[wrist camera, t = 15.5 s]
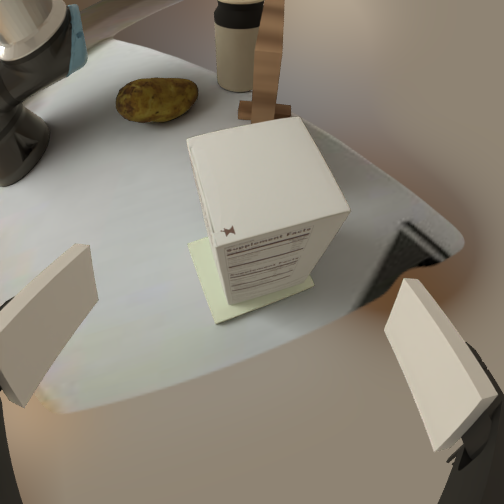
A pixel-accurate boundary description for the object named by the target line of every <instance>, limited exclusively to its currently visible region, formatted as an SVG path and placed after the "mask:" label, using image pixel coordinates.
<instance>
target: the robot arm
mask: <svg viewBox="0 0 504 504" xmlns="http://www.w3.org/2000/svg"><path fill="white" fill-rule="evenodd" d="M87 59H88V55H87V49H86V44H85V39H84V34H83V29H82V23H81V17H80V12H79V8H78V5H76V4H73V5H68V6H66V4H65V3H64V1H63V0H0V186H8V185H11V184H13V183H15V182H16V181H18V180H19V179H21V178H22V177H23V176H25V175H26V174H27V173H28V172H29V171H30V170H31V169H32V168H33V167H34V165H35V164H36V163H37V162H38V160H39V159H40V158H41V156H42V154H43V153H44V151H45V149H46V147H47V145H48V142H49V138H50V131H49V128H48V126H47V125H46V123H45V122H44V120H43V119H42V118H40V117H39V116H37V115H36V114H34V113H33V112H31V111H30V110H28V109H27V108H25V107H24V106H23V104H22V102H23V101H25V100H26V99H28V98H30V97H31V96H33V95H35V94H36V93H38V92H40V91H41V90H43V89H45V88H47V87H49V86H50V85H52V84H54V83H56V82H58V81H60V80H62V79H64V78H66V77H68V76H69V75H70V74H72V73H73V72H75V71H77V70H79V69H81V68H82V67H83V66H84V65H85V64H86V62H87ZM97 302H98V294H97V289H96V284H95V278H94V272H93V266H92V259H91V252H90V245H83V244H74V245H73V246H72V247H71V248H69V249H68V250H67V251H66V252H65V253H63V254H62V255H61V256H60V257H59V258H57V259H56V260H55V261H54V262H53V263H52V264H50V265H49V266H48V267H47V268H46V269H45V270H43V271H42V272H41V273H40V274H39V275H38V276H37V277H36V278H34V279H33V280H32V281H31V282H30V283H29V284H28V285H27V286H26V287H25V288H24V289H23V290H21V291H20V292H19V293H18V294H17V295H16V296H15V297H13V298H11V299H9V300H8V301H6V302H5V303H4V304H3V305H2V306H1V307H0V391H1V390H3V392H4V393H5V395H6V396H7V397H8V399H9V401H11V402H13V403H15V404H17V405H19V406H21V407H23V408H25V406H26V405H27V403H28V401H29V400H30V398H31V396H32V395H33V393H34V392H35V390H36V388H37V387H38V385H39V384H40V382H41V381H42V379H43V377H44V376H45V374H46V373H47V371H48V370H49V368H50V367H51V365H52V364H53V362H54V361H55V359H56V358H57V357H58V355H59V354H60V352H61V351H62V349H63V348H64V346H65V345H66V344H67V342H68V341H69V339H70V338H71V337H72V335H73V334H74V332H75V331H76V330H77V328H78V327H79V325H80V324H81V323H82V321H83V320H84V319H85V317H86V316H87V315H88V313H89V312H90V311H91V309H92V308H93V307H94V305H95V304H96V303H97ZM384 331H385V333H386V336H387V338H388V340H389V342H390V344H391V346H392V348H393V351H394V353H395V355H396V357H397V360H398V362H399V364H400V366H401V369H402V371H403V373H404V376H405V378H406V380H407V383H408V385H409V387H410V390H411V392H412V395H413V397H414V400H415V402H416V405H417V407H418V410H419V412H420V414H421V418H422V420H423V423H424V425H425V428H426V431H427V434H428V436H429V439H430V442H431V445H432V448H433V450H434V452H437V451H441V450H444V449H447V448H451V447H452V446H453V445H454V444H455V443H456V442H457V441H458V440H459V439H460V438H462V440H463V443H464V444H463V445H462V446H461V447H460V448H459V449H458V450H457V451H456V452H454V453H453V454H452V455H451V456H450V457H449V458H448V460H447V463H449V462H450V461H451V460H452V459H454V458H455V457H456V459H455V462H454V463H452V465H453V468H452V470H451V473H450V475H449V478H448V481H447V483H446V486H445V488H444V490H443V493H442V495H441V497H440V500H439V502H438V504H504V394H503V392H502V391H501V389H500V387H499V386H498V384H497V382H496V381H495V379H494V378H493V376H492V374H491V373H490V371H489V370H487V367H486V365H485V364H484V362H482V359H481V357H480V356H479V354H478V353H477V352H476V350H475V349H474V348H472V346H470V345H469V344H468V343H467V342H465V341H464V340H463V339H462V337H461V336H460V334H459V333H458V331H457V330H456V328H455V327H454V326H453V324H452V323H451V322H450V320H449V319H448V317H447V316H446V315H445V313H444V312H443V311H442V309H441V308H440V307H439V305H438V304H437V303H436V301H435V300H434V299H433V297H432V296H431V295H430V294H429V292H428V291H427V290H426V289H425V287H424V286H423V285H422V284H421V282H420V281H419V280H418V279H409V278H404V279H403V281H402V285H401V287H400V290H399V293H398V296H397V298H396V301H395V303H394V306H393V309H392V311H391V314H390V317H389V319H388V321H387V324H386V326H385V329H384ZM0 504H23V503H22V500H21V497H20V494H19V490H18V487H17V483H16V479H15V475H14V471H13V468H12V463H11V458H10V454H9V449H8V443H7V438H6V432H5V425H4V418H3V410H2V402H1V398H0Z"/></svg>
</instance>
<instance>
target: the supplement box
mask: <svg viewBox="0 0 504 504" xmlns="http://www.w3.org/2000/svg"><path fill="white" fill-rule="evenodd" d="M187 146H188V151H189V156H190V160H191V165H192V169H193V174H194V178H195V183H196V187H197V190H198V194H199V198H200V202H201V207H202V212H203V216H204V221H205V225H206V230H207V234H208V239H209V243H210V247H211V250H212V254H213V258H214V261H215V265H216V268H217V272H218V275H219V278H220V282H221V285H222V288H223V291H224V294H225V297H226V300H227V303H228V305H232V304H236V303H239V302H243V301H246V300H250V299H254V298H257V297H260V296H264V295H267V294H270V293H273V292H277V291H280V290H283V289H286V288H289V287H292V286H295V285H299V284H302V283H304V281H305V280H306V278H307V277H308V276H309V274H310V273H311V271H312V270H313V268H314V267H315V265H316V264H317V262H318V261H319V259H320V258H321V256H322V255H323V253H324V252H325V250H326V249H327V247H328V246H329V244H330V243H331V241H332V240H333V238H334V237H335V235H336V234H337V232H338V230H339V229H340V227H341V226H342V224H343V223H344V221H345V220H346V218H347V217H348V215H349V213H350V212H351V209H350V207H349V205H348V203H347V201H346V199H345V197H344V195H343V193H342V191H341V189H340V188H339V186H338V184H337V182H336V180H335V178H334V176H333V174H332V172H331V171H330V169H329V167H328V165H327V163H326V161H325V159H324V158H323V156H322V154H321V152H320V150H319V149H318V147H317V145H316V144H315V142H314V140H313V138H312V137H311V135H310V133H309V131H308V130H307V128H306V126H305V125H304V123H303V121H302V119H301V117H299V116H298V117H289V118H282V119H276V120H270V121H265V122H260V123H254V124H249V125H244V126H239V127H234V128H229V129H224V130H219V131H215V132H211V133H207V134H203V135H199V136H195V137H191V138H188V139H187Z"/></svg>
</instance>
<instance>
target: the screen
mask: <svg viewBox="0 0 504 504" xmlns="http://www.w3.org/2000/svg"><path fill="white" fill-rule="evenodd" d="M283 26H284V0H265V2H264V7H263V12H262V17H261V21H260V26H259V31H258V36H257V41H256V46H255V53H254V72H253V92H252V101H240V103H239V108H238V119H243V120H251V124H254V123H260V122H265V121H270V120H276V119H282V118H289V117H291V106H290V105H282V104H276V99H277V90H278V83H279V75H280V67H281V59H282V49H283Z"/></svg>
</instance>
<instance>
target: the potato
mask: <svg viewBox="0 0 504 504" xmlns="http://www.w3.org/2000/svg"><path fill="white" fill-rule="evenodd" d="M197 98H198V88H197V85H196V84H195V83H194V82H192V81H190V80H187V79H180V78H146V79H138V80H135V81H132V82H130V83H128V84H126V85H125V86H124V87H123V88H121V89H120V90H119V93H118V95H117V98H116V109H117V111H118V112H119V114H120V115H121V116H123V117H124V118H125V119H128V121H135V122H139V123H146V122H151V121H153V122H166V121H169V120H172V119H175V118H177V117H179V116H181V115H182V114H184V113H185V112H186V111H188V110H189V109H190V108H191V106H192V105H193V104H194V103H195V101H196V100H197Z"/></svg>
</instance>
